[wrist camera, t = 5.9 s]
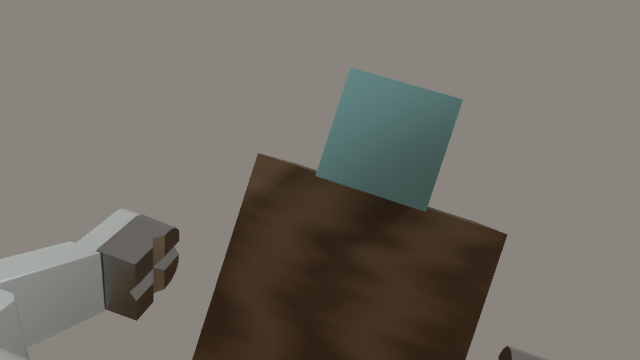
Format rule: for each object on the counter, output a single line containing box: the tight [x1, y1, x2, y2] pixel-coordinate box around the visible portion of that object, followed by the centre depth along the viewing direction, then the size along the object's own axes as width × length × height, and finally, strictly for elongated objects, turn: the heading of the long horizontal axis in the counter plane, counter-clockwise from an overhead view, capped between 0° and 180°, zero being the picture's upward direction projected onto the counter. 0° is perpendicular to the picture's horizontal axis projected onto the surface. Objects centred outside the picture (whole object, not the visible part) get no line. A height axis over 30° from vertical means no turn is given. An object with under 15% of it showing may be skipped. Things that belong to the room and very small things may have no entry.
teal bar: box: [316, 68, 463, 212], centre depth 28 cm, size 24×4×4 cm, turn 171°
